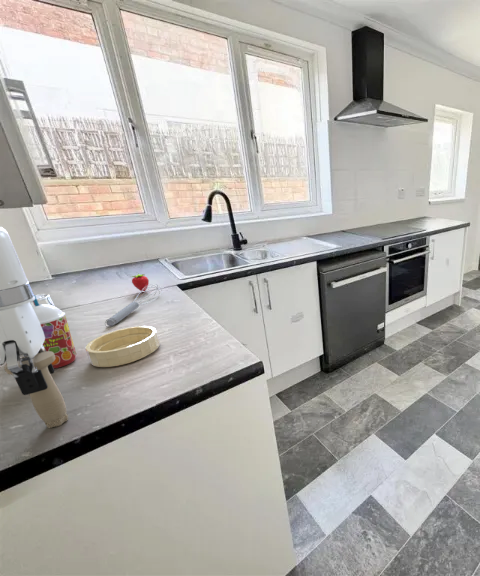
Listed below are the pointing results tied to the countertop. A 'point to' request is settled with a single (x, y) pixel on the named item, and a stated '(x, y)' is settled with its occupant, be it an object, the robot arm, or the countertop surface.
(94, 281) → the countertop surface
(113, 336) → the bowl
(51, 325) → the smoothie
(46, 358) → the handle
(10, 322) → the robot arm
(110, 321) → the kitchen whisk
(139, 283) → the strawberry
